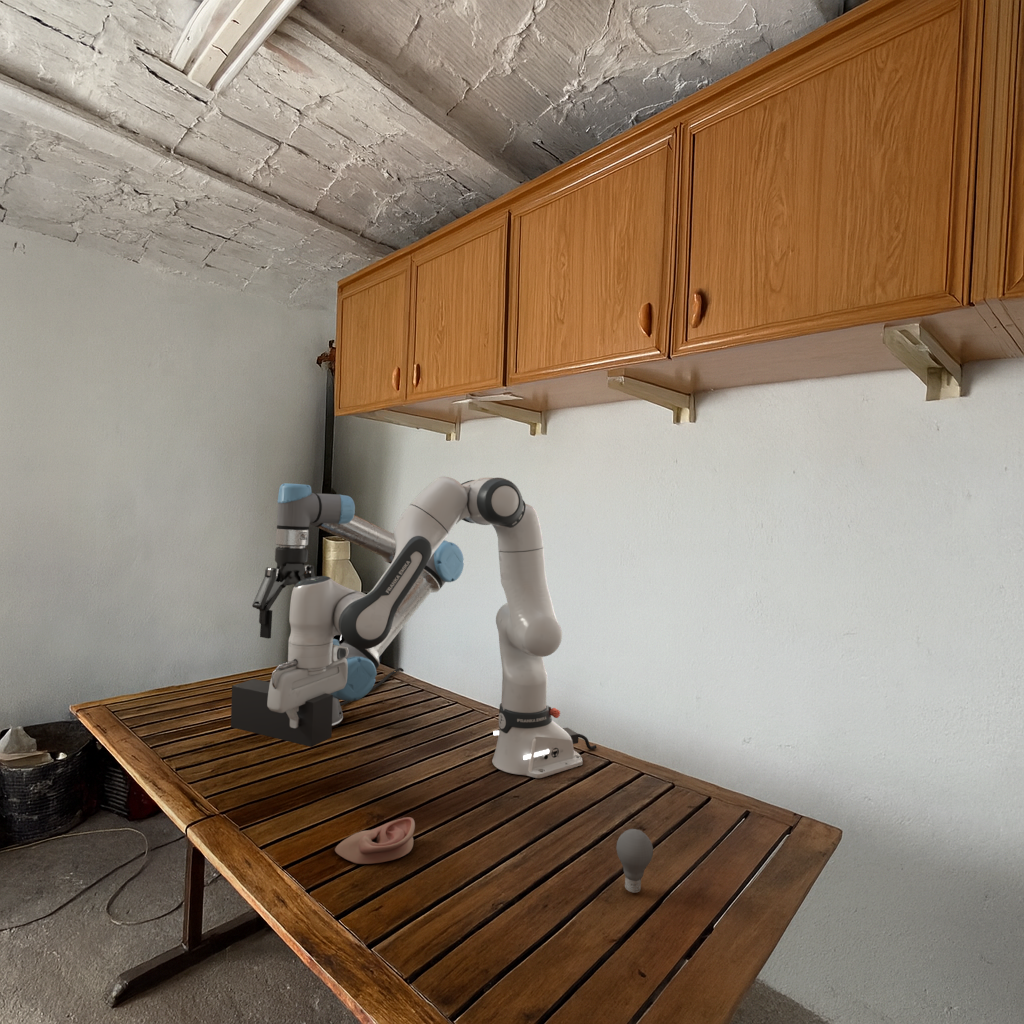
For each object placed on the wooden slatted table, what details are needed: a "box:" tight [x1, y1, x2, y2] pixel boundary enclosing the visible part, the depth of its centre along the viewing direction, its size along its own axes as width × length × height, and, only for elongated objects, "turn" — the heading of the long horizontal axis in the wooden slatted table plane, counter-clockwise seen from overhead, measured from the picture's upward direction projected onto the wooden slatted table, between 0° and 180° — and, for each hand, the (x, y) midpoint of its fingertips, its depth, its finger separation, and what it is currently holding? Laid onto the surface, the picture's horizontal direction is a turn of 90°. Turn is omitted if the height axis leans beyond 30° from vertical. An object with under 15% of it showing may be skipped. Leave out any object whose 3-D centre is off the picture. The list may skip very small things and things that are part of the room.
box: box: [230, 678, 333, 748], centre depth 135 cm, size 22×6×9 cm, turn 66°
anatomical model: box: [334, 816, 416, 865], centre depth 115 cm, size 13×4×12 cm
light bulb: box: [615, 828, 654, 894], centre depth 106 cm, size 6×6×10 cm
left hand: (287, 633), depth 155 cm, fingers open, 13 cm apart
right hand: (308, 721), depth 132 cm, fingers closed on box, 6 cm apart
